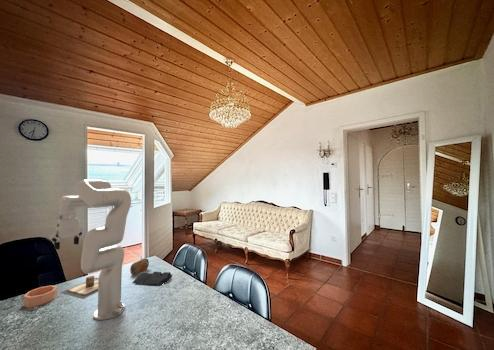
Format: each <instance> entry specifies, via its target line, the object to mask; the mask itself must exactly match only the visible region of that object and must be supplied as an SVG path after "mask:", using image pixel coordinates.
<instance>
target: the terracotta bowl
mask: <svg viewBox="0 0 494 350" xmlns="http://www.w3.org/2000/svg"><path fill="white" fill-rule="evenodd" d="M57 296H58V286H57V285H46V286H40V287H37V288H34V289H31V290H29V291H27V293H25V294H24V295H23V298H22V299H23V304H22V306H23V307H26V308H34V307H37V306H41V305H44V304H46V303H48V302H50V301H53V300H55V298H56V297H57Z"/></svg>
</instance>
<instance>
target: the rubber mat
mask: <svg viewBox="0 0 494 350" xmlns="http://www.w3.org/2000/svg"><path fill="white" fill-rule="evenodd" d="M94 279H99V277H94ZM85 282H86V281H85ZM85 282H81V283H80V284H83V283H85ZM80 284H77V285H74V286H72V287H70V288H67V289H64V290H63V291H60V292H59V293H60V294H63V295H66V296H67V295H68V296H70V297H75V298H77V299H82V300H83V299H84V300H85V299H86V298H89V297H91V296H92V295H94V294H98V290H96V291H94V292H92V293H90V294H88V295H86V296H84V295H80V294H76V293H72V292H69V291H68V289H71V288H73V287H76V286H78V285H80Z"/></svg>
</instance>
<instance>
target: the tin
mask: <svg viewBox="0 0 494 350" xmlns="http://www.w3.org/2000/svg"><path fill="white" fill-rule="evenodd" d="M149 265H150V262H149V259H148V258H142V259H141V258H140V259H139V260H137V261H135V262H133V263H132V264H131V266H130V269H129V271H130V274H131V275H133V276H137V275H138V276H139V275H140V274H142V273H144V272H145V271H147V269H148V268H149ZM144 270H145V271H144ZM141 272H142V273H141Z"/></svg>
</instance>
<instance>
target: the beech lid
mask: <svg viewBox="0 0 494 350" xmlns="http://www.w3.org/2000/svg"><path fill="white" fill-rule="evenodd" d="M94 278H95V275H90V276H87V277H86V278H85V283H84V282H82V283H83V284H82V283H80V285H79V284H77V285H78V286H77V285H75V286H76V287H74V286H72V287H73V288H72V287H70V288H71V289H70V288H67V289H68V291H69V292H72V293H76V294H80V295H84V296H86V295H88V294H90V293H92V292H94V291H96V290H98V279H94Z"/></svg>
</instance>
